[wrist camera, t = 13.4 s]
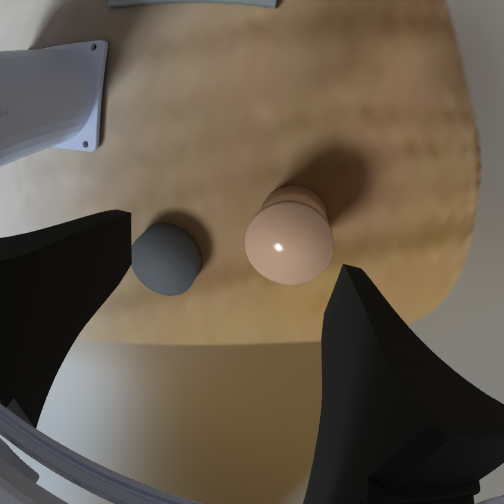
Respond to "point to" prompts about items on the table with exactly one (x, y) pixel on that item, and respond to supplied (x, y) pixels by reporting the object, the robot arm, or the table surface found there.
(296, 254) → the pink dome knob
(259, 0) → the slate tile
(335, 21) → the table surface
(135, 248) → the rubber puck
